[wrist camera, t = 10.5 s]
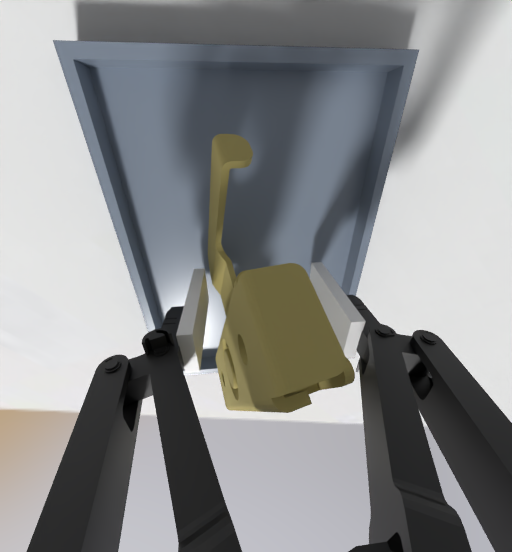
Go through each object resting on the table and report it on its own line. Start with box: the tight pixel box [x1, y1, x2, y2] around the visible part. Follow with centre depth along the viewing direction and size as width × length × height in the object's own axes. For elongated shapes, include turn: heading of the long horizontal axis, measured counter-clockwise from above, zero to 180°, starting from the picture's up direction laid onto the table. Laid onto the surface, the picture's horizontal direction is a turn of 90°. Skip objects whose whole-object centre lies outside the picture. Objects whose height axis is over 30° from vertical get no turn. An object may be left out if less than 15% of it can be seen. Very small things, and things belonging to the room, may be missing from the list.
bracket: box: [208, 134, 355, 413], centre depth 15 cm, size 10×14×10 cm
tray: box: [53, 40, 419, 375], centre depth 18 cm, size 23×17×2 cm
